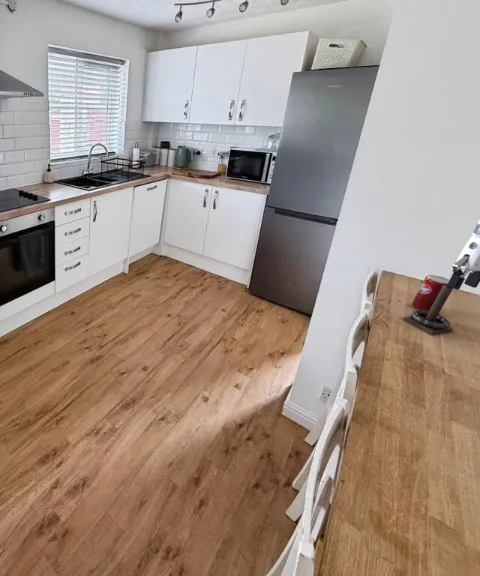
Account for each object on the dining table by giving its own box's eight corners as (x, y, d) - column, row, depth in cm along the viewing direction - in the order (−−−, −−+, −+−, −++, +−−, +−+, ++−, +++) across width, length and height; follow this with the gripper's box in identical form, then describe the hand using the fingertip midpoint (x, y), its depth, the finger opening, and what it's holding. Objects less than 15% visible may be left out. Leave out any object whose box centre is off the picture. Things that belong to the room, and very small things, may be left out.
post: (451, 331, 118) (474, 292, 112) (431, 334, 116) (454, 295, 109) (422, 316, 126) (442, 279, 119) (403, 319, 124) (422, 281, 117)
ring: (456, 328, 118) (459, 323, 117) (433, 331, 115) (436, 327, 114) (424, 312, 126) (427, 307, 125) (402, 315, 124) (405, 310, 123)
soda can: (411, 309, 130) (427, 279, 124) (410, 301, 135) (425, 272, 129) (437, 317, 126) (455, 286, 120) (435, 308, 131) (452, 278, 126)
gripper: (485, 238, 102) (454, 294, 110) (528, 235, 106) (494, 290, 114) (456, 229, 108) (428, 283, 117) (497, 227, 113) (467, 279, 121)
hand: (461, 286), depth 115 cm, fingers open, 6 cm apart
